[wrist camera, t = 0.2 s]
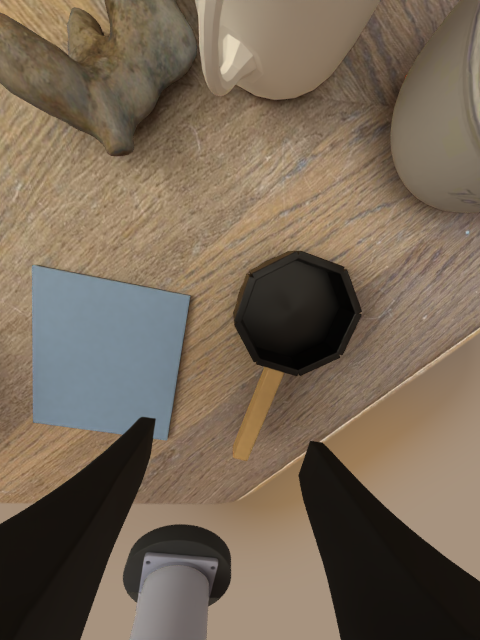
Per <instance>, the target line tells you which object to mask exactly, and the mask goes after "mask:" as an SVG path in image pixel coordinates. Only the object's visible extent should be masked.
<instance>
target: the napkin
mask: <svg viewBox="0 0 480 640" xmlns="http://www.w3.org/2000/svg"><path fill="white" fill-rule="evenodd" d="M189 302H190V295H185V294H180V293H175V292H170V291H165V290H160V289H155V288H150V287H145V286H140V285H134V284H129V283H124V282H119V281H114V280H109V279H104V278H99V277H94V276H89V275H84V274H79V273H74V272H69V271H63V270H58V269H53V268H48V267H43V266H38V265H32V335H33V423H41V424H48V425H56V426H63V427H71V428H78V429H86V430H93V431H101V432H108V433H116V434H124V433H125V432H126V431H127V430H128V429H129V428H130V427H131V426H132V425H133V424H134V423H135V422H136V421H137V420H138V419H139V418H140V417H148V418H155V419H156V421H155V428H154V435H153V439H160V440H167V439H168V433H169V427H170V421H171V414H172V408H173V402H174V396H175V390H176V383H177V377H178V371H179V365H180V358H181V352H182V346H183V340H184V334H185V327H186V321H187V315H188V309H189Z"/></svg>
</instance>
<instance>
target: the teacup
mask: <svg viewBox="0 0 480 640" xmlns="http://www.w3.org/2000/svg"><path fill="white" fill-rule="evenodd" d="M390 140H391V151H392V157H393V161H394V165H395V168H396V170H397V173H398V175H399V177H400V179H401V180H402V182H403V184H404V185H405V186H406V188H407V189H408V190H409V191H410V192H411V193H412V194H413V195H414V196H415V197H416V198H417V199H419V200H420V201H422V202H424V203H425V204H427V205H429V206H431V207H434V208H437V209H440V210H443V211H449V212H456V213H476V212H480V0H460V1H459V2H458V3H457V5H456V6H455V7H454V8H453V10H452V11H451V12H450V13H449V14H448V16H447V17H446V18H445V20H444V21H443V22H442V23H441V25H440V26H439V27H438V29H437V30H436V31H435V33H434V34H433V35H432V36H431V38H430V39H429V40H428V42H427V43H426V45H425V46H424V48H423V49H422V51H421V52H420V54H419V55H418V57H417V58H416V60H415V61H414V63H413V65H412V67H411V68H410V70H409V72H408V74H407V76H406V78H405V80H404V82H403V84H402V87H401V89H400V92H399V94H398V97H397V101H396V104H395V107H394V111H393V117H392V122H391V136H390Z"/></svg>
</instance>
